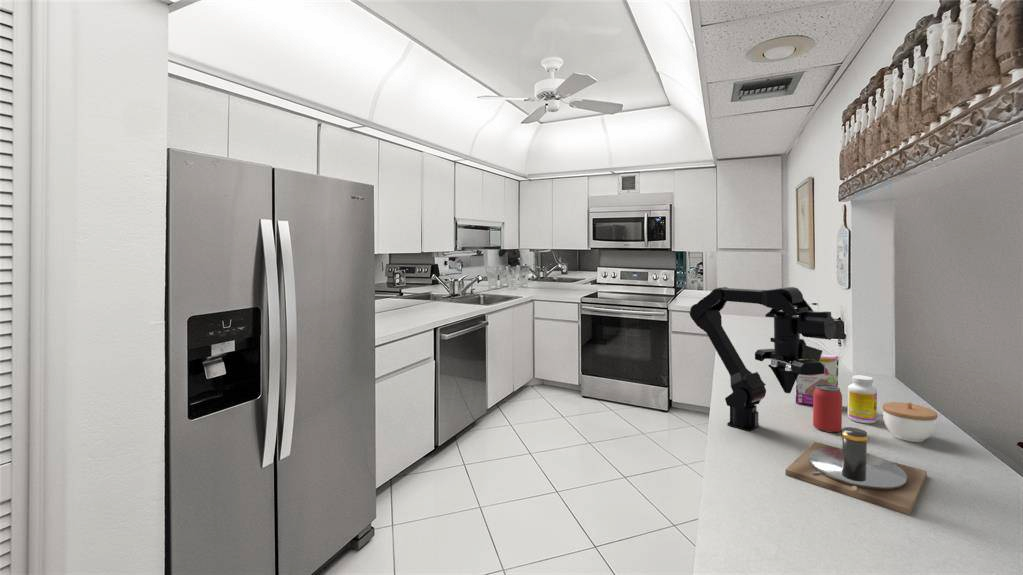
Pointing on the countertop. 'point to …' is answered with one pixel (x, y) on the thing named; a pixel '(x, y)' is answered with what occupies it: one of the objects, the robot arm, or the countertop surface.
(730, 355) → the robot arm
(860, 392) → the supplement bottle
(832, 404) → the beer can
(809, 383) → the candy bar box
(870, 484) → the dial
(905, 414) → the lidded jar
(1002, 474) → the countertop surface
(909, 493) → the base plate
